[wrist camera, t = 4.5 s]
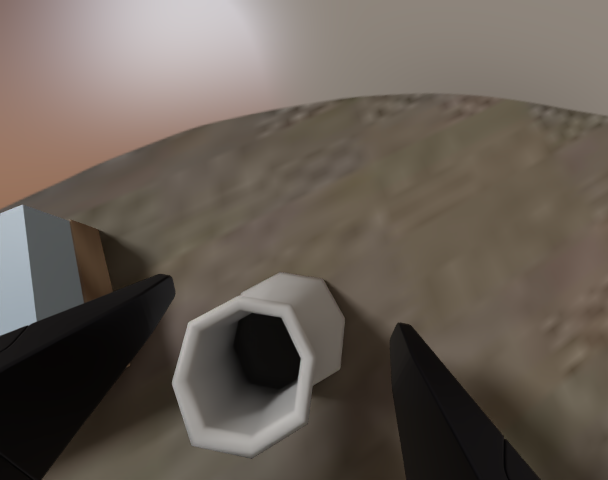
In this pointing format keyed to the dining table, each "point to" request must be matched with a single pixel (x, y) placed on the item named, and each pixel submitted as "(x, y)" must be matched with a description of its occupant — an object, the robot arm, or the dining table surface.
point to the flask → (258, 364)
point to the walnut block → (90, 262)
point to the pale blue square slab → (35, 267)
